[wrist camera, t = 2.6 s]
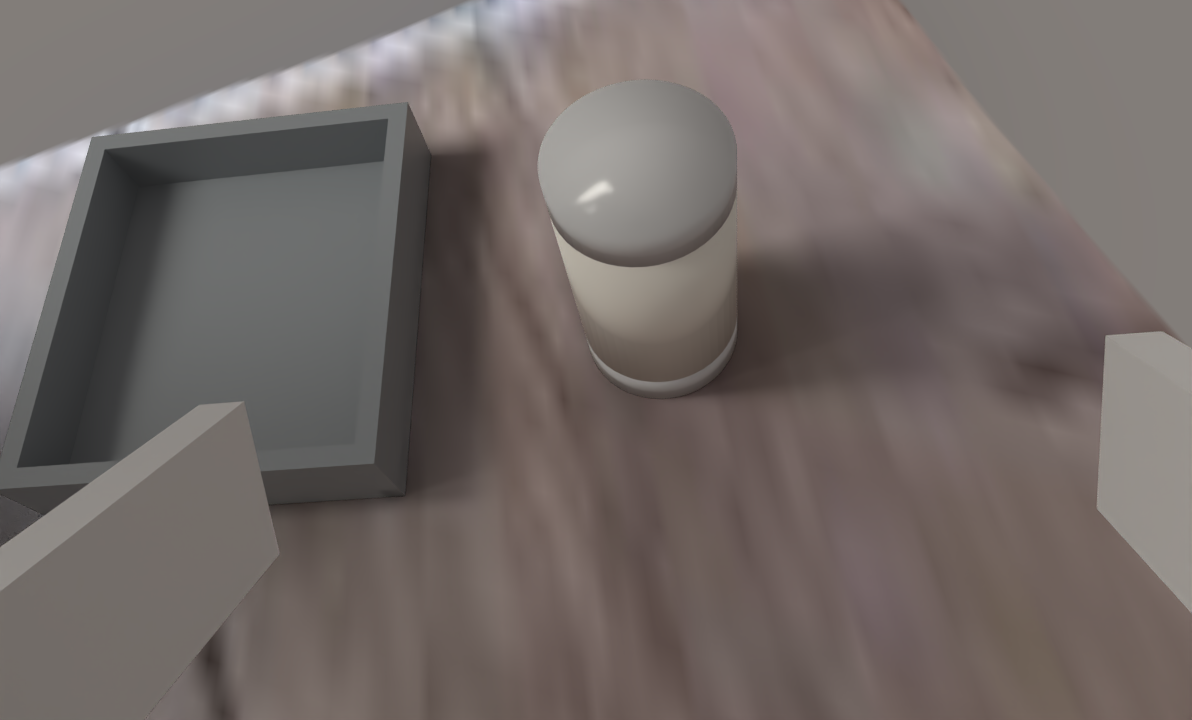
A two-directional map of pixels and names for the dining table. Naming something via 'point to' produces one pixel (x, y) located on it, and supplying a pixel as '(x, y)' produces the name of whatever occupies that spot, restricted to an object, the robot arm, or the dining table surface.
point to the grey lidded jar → (647, 231)
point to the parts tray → (234, 303)
